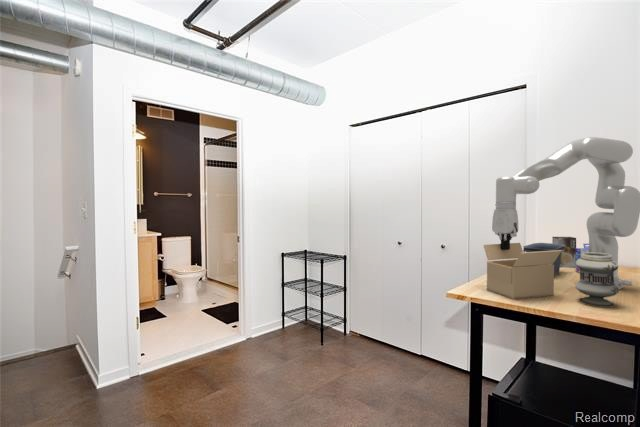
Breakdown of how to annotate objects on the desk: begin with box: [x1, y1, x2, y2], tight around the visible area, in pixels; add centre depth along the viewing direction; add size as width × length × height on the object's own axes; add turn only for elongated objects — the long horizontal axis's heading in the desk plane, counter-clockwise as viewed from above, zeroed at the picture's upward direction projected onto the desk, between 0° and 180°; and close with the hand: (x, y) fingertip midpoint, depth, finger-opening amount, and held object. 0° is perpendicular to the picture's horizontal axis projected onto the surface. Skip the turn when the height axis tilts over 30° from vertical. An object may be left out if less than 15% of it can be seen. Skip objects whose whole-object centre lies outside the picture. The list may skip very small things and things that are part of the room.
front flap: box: [514, 250, 562, 267], centre depth 128 cm, size 18×7×1 cm
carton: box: [486, 258, 555, 300], centre depth 137 cm, size 20×14×12 cm
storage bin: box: [522, 242, 565, 275], centre depth 169 cm, size 21×16×14 cm
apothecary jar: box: [575, 252, 620, 308], centre depth 122 cm, size 12×12×18 cm
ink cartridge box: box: [575, 243, 589, 274], centre depth 169 cm, size 10×6×14 cm, turn 78°
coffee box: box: [551, 236, 577, 268], centre depth 185 cm, size 9×6×16 cm
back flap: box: [483, 242, 524, 261], centre depth 144 cm, size 18×7×1 cm
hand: (505, 249), depth 144 cm, fingers closed
